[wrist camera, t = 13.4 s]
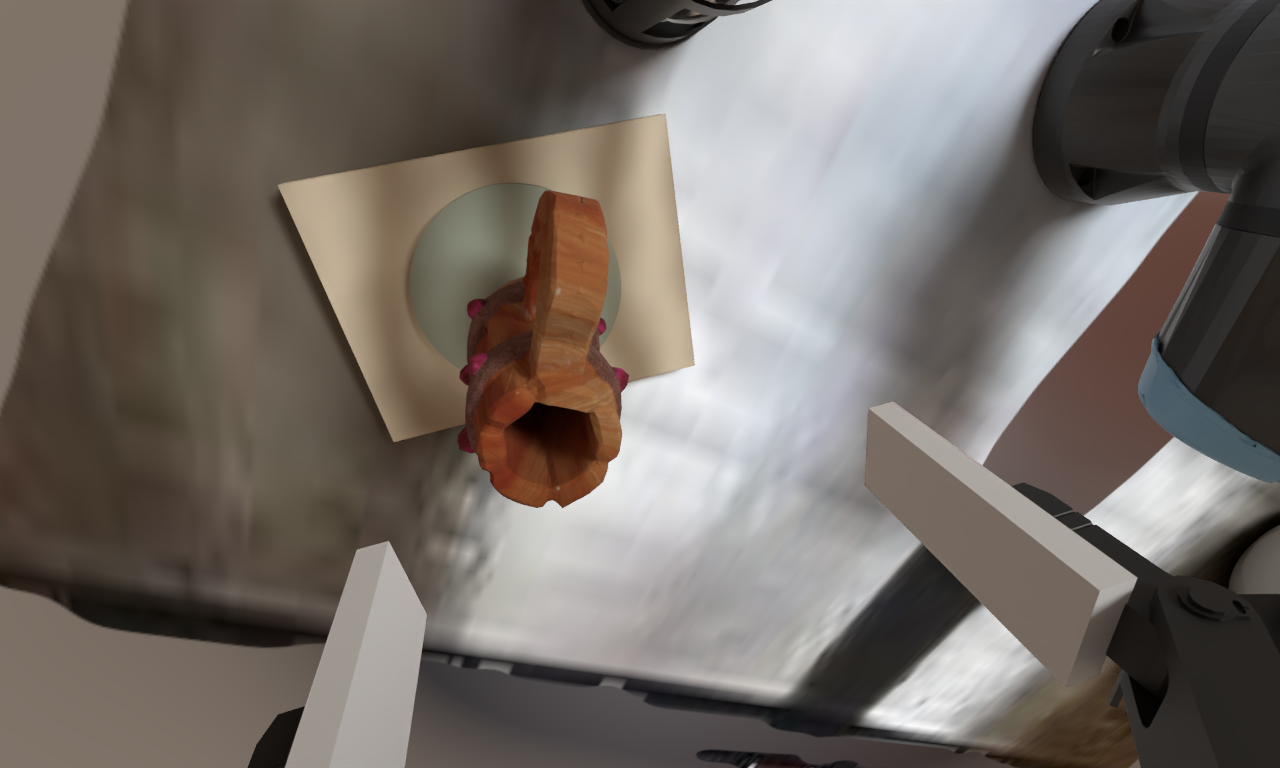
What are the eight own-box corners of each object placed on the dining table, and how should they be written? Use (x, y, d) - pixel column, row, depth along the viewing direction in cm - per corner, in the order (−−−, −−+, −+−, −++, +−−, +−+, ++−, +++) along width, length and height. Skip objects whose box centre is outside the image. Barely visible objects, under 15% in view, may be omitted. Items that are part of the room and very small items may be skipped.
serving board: (658, 114, 33) (669, 114, 31) (688, 357, 42) (698, 369, 40) (286, 182, 30) (272, 186, 28) (397, 431, 38) (391, 448, 36)
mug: (579, 400, 38) (625, 547, 25) (458, 390, 36) (440, 548, 23) (619, 186, 33) (706, 233, 20) (479, 157, 30) (472, 188, 17)
